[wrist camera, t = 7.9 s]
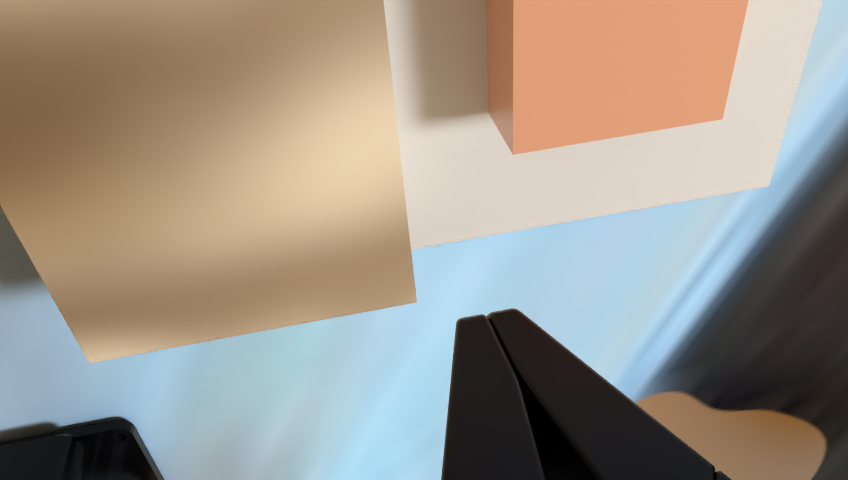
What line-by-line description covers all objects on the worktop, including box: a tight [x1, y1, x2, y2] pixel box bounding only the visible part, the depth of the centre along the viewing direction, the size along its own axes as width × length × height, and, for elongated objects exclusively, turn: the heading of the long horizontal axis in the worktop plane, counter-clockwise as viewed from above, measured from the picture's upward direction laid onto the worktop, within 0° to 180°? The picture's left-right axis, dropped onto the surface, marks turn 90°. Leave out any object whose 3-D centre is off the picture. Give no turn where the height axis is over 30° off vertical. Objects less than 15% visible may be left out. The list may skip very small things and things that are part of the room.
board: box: [0, 0, 417, 363], centre depth 15 cm, size 16×9×4 cm, turn 4°
